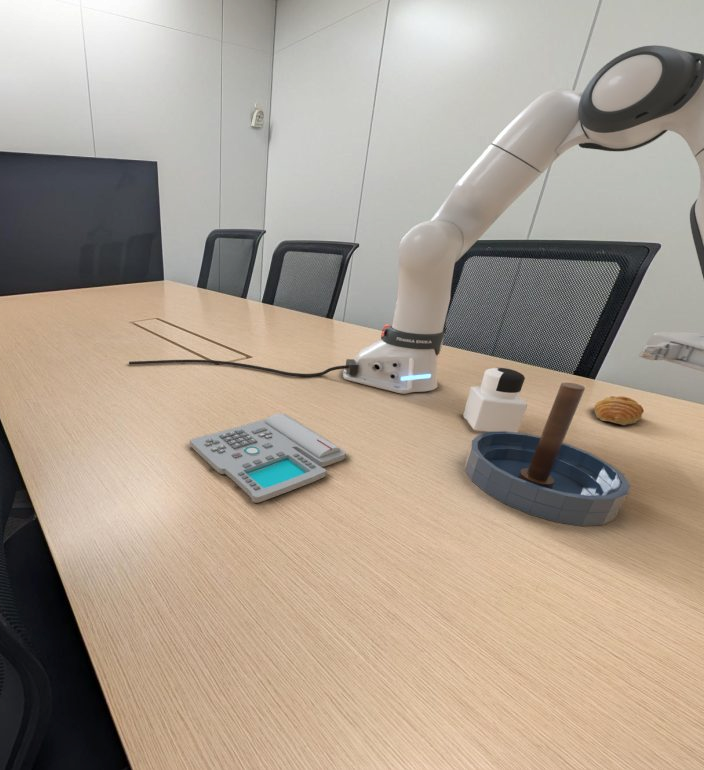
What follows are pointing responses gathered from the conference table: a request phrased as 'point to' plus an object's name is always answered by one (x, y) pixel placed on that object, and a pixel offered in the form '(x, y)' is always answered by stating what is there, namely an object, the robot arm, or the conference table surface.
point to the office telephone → (268, 455)
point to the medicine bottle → (496, 402)
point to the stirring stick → (553, 435)
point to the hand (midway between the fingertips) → (683, 363)
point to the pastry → (619, 410)
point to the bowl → (570, 472)
